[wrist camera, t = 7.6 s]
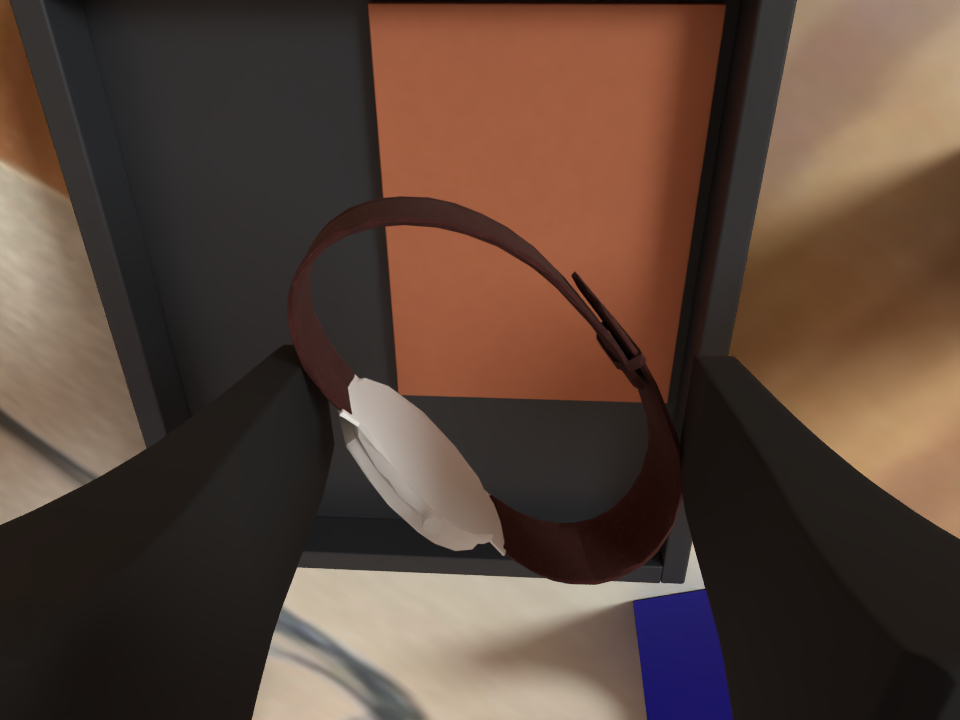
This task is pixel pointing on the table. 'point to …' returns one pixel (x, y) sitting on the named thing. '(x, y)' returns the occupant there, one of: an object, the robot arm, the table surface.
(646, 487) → the watch
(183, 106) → the tray
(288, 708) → the table surface
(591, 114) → the corner pad
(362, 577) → the table surface
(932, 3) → the table surface
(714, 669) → the blue u-shaped bracket
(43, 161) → the table surface
